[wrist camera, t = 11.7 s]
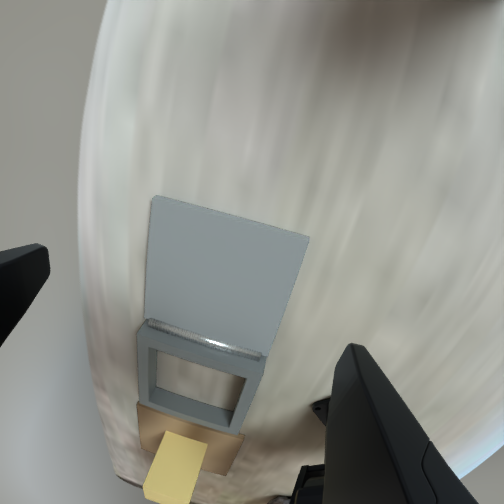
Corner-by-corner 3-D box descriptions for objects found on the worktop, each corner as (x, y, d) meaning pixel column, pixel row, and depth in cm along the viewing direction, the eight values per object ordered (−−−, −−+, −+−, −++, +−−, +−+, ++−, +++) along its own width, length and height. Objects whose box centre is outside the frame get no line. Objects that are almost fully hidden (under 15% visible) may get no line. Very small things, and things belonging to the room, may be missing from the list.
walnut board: (244, 435, 31) (243, 439, 30) (226, 472, 36) (225, 476, 36) (138, 400, 31) (136, 404, 31) (142, 445, 37) (141, 448, 36)
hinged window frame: (309, 237, 20) (309, 251, 18) (241, 419, 29) (237, 435, 27) (156, 195, 20) (142, 205, 18) (146, 388, 30) (139, 403, 28)
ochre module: (207, 444, 32) (189, 502, 25) (203, 459, 34) (186, 512, 27) (166, 430, 32) (142, 486, 25) (165, 447, 34) (145, 498, 27)
